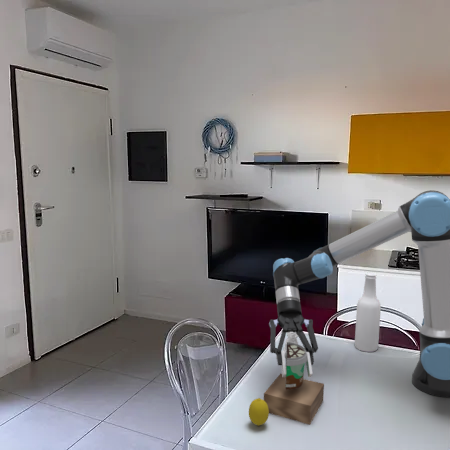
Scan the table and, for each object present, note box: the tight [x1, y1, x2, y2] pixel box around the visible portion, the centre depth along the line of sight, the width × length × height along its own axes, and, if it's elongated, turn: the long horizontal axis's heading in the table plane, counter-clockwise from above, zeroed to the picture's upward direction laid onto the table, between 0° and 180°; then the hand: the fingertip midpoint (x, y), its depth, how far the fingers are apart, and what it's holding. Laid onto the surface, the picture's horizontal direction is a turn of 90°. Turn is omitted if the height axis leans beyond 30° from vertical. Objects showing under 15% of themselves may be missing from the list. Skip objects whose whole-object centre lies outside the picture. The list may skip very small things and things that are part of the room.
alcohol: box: [354, 272, 382, 353], centre depth 176 cm, size 9×9×30 cm
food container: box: [285, 342, 308, 390], centre depth 134 cm, size 12×6×10 cm, turn 172°
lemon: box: [248, 397, 270, 427], centre depth 125 cm, size 6×6×8 cm
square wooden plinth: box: [263, 372, 325, 425], centre depth 136 cm, size 14×14×6 cm
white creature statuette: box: [275, 332, 299, 361], centre depth 168 cm, size 10×9×12 cm
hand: (297, 375), depth 132 cm, fingers closed on food container, 7 cm apart
